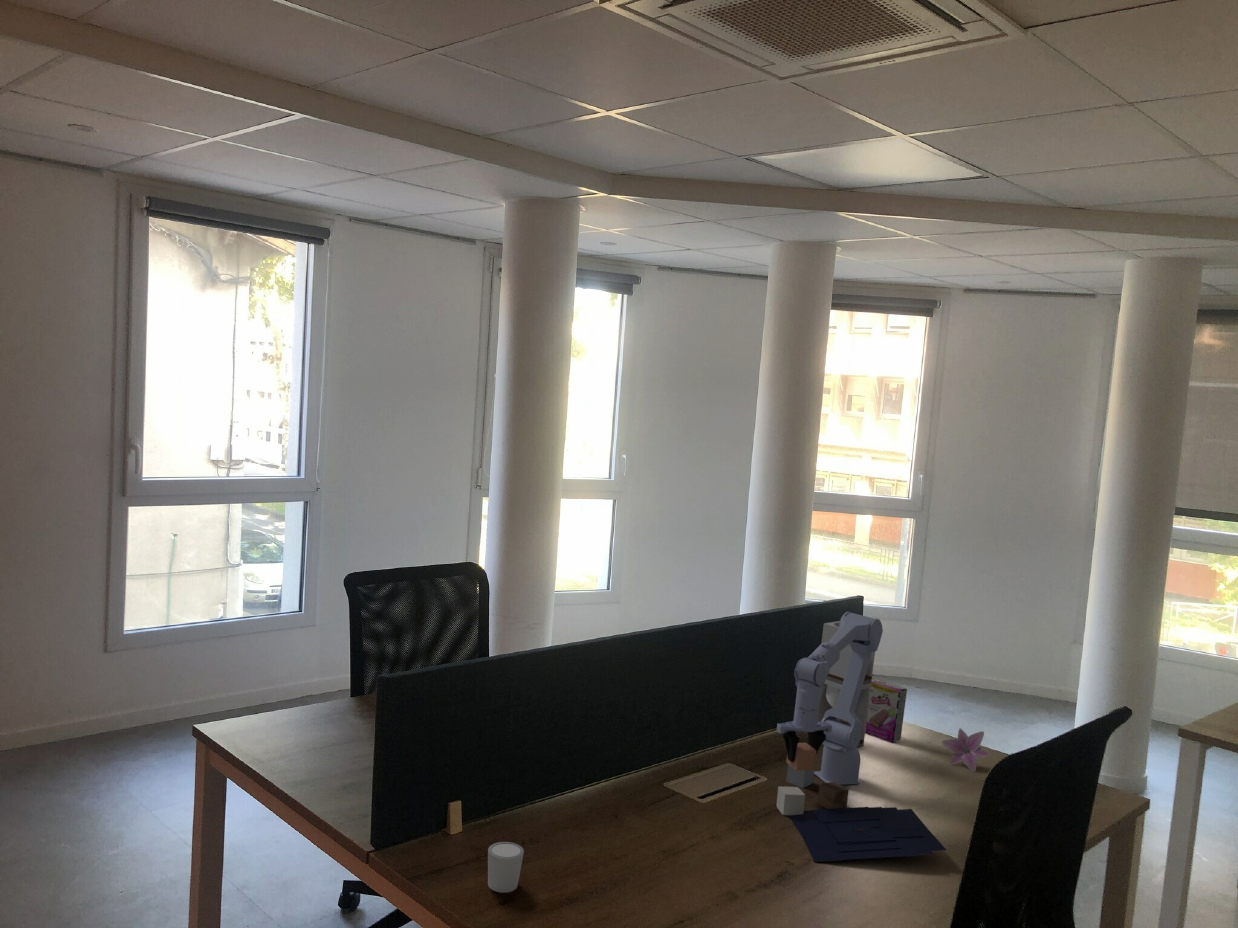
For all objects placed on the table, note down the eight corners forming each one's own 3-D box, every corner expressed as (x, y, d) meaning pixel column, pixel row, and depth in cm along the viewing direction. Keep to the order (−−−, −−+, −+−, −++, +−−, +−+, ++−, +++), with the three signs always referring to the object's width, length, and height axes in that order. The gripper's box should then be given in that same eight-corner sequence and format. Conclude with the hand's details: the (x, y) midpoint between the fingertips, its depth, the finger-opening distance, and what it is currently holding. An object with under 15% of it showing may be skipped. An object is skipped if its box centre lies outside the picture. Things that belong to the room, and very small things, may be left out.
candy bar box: (860, 732, 292) (866, 680, 291) (868, 729, 296) (874, 677, 295) (893, 744, 285) (900, 690, 283) (901, 740, 288) (908, 687, 287)
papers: (950, 866, 207) (950, 850, 207) (814, 874, 205) (814, 858, 204) (908, 816, 231) (908, 801, 231) (786, 822, 229) (786, 808, 228)
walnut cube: (831, 800, 239) (833, 781, 238) (846, 808, 234) (848, 789, 234) (817, 803, 236) (819, 784, 235) (832, 812, 232) (834, 792, 231)
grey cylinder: (485, 874, 186) (489, 840, 186) (521, 876, 187) (524, 841, 186) (483, 893, 179) (487, 857, 179) (520, 895, 180) (523, 859, 179)
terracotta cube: (803, 761, 241) (806, 742, 241) (813, 769, 236) (816, 750, 236) (786, 762, 239) (788, 743, 239) (796, 770, 235) (798, 750, 234)
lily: (935, 758, 279) (937, 735, 274) (965, 741, 283) (967, 718, 278) (965, 786, 270) (968, 763, 265) (996, 768, 274) (999, 744, 269)
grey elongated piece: (810, 739, 281) (823, 623, 278) (830, 733, 288) (844, 620, 286) (842, 753, 273) (857, 633, 270) (863, 746, 280) (877, 629, 277)
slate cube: (795, 777, 251) (798, 758, 251) (812, 783, 248) (814, 765, 248) (786, 781, 248) (788, 763, 247) (803, 788, 244) (805, 769, 244)
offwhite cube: (796, 807, 232) (798, 786, 232) (803, 815, 227) (805, 794, 227) (776, 806, 231) (778, 786, 231) (783, 814, 226) (785, 794, 226)
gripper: (823, 701, 243) (817, 752, 244) (773, 701, 238) (767, 754, 239) (838, 710, 236) (832, 763, 237) (787, 711, 232) (780, 765, 233)
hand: (800, 760), depth 238 cm, fingers closed on terracotta cube, 5 cm apart
